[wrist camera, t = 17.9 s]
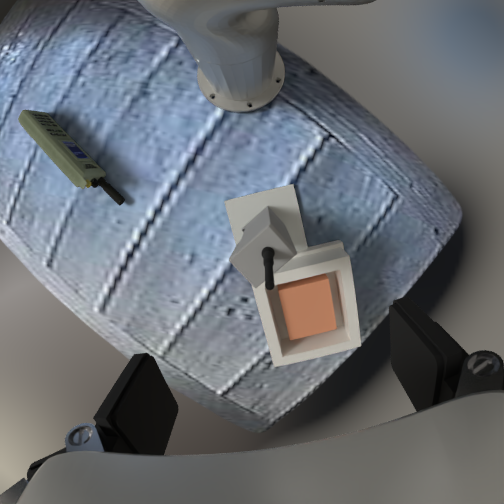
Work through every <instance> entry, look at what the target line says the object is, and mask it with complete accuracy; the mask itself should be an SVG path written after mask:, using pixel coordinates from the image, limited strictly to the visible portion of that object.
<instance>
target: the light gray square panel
mask: <svg viewBox="0 0 504 504" xmlns="http://www.w3.org/2000/svg"><path fill="white" fill-rule="evenodd" d="M224 202H225V206H226V210H227V213H228V217H229V221H230V224H231V228H232V232H233V235H234V239H235V243H236V245H237V244H238V243H239V241H240V240H241V239H242V236H243V233H244V232H243V231H242V230H241V229H242V228H243V227H244V226H245V225H246V224H247V223H248V222H250V221H251V220H252V219H253V218H254V217H255V216H256V215H257V214H259V213H260V212H261V211H262V210H263V209H264V208H265V207H267V206H269V207H270V208H271V210H272V211H273V212H274V213H275V214H276V215H277V216H278V217H279V219H280V220H281V221H282V222H283V223H284V224H285V226H286V228H287V230H288V233H289V235H290V237H291V240H292V242H293V244H294V246H295V249H296V251H299V250H303V249H307V248H308V246H307V242H306V237H305V233H304V228H303V224H302V219H301V215H300V211H299V206H298V202H297V198H296V194H295V189H294V185H293V184H291V185H287V186H283V187H279V188H274V189H270V190H266V191H262V192H258V193H254V194H250V195H246V196H242V197H238V198H234V199H231V200H227V201H224Z"/></svg>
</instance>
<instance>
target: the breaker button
mask: <svg viewBox="0 0 504 504" xmlns="http://www.w3.org/2000/svg"><path fill="white" fill-rule="evenodd" d="M277 286H278V293H279V297H280V301H281V305H282V309H283V313H284V317H285V322H286V326H287V330H288V334H289V338H290V340H294V339H298V338H303V337H307V336H311V335H315V334H319V333H323V332H327V331H331V330H335V329H337V326H336V320H335V313H334V307H333V301H332V295H331V289H330V284H329V279H328V277H327V275H326V274H325V273H324V274H320V275H316V276H312V277H308V278H304V279H300V280H295V281H291V282H287V283H283V284H278V285H277Z"/></svg>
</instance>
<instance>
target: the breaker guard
mask: <svg viewBox="0 0 504 504" xmlns="http://www.w3.org/2000/svg"><path fill="white" fill-rule="evenodd" d="M324 273H325V274H326V275H327V277H328V279H329V284H330V289H331V295H332V301H333V307H334V313H335V320H336V326H337V329H335V330H331V331H327V332H323V333H319V334H315V335H311V336H307V337H303V338H298V339H294V340H290V338H289V334H288V330H287V326H286V322H285V317H284V313H283V309H282V305H281V301H280V297H279V293H278V286H277V285H278V284H283V283H287V282H291V281H295V280H300V279H304V278H308V277H312V276H316V275H320V274H324ZM274 284H275V287H274V288H273V289H272V290H267V289H266V288H265V281H264V282H263V283H262V284H261V285H260V286H258V287H257V288H255V287H254V286H253V285H252V288H253V291H254V295H255V299H256V302H257V306H258V310H259V313H260V317H261V320H262V324H263V328H264V331H265V335H266V338H267V342H268V346H269V349H270V353H271V356H272V360H273V364H274V367H277V366H282V365H287V364H291V363H296V362H301V361H305V360H309V359H314V358H318V357H322V356H326V355H330V354H334V353H338V352H341V351H345V350H349V349H353V348H356V347H360V346H361V339H360V329H359V320H358V312H357V304H356V296H355V289H354V282H353V275H352V268H351V262H350V256H349V255H348V254H347V253H346V252H345V251H344V247H343V242H342V241H340V240H336V241H332V242H328V243H324V244H319V245H315V246H311V247H308V248H307V249H303V250H299V251H297V255H295V256H294V257H293V258H292V259H291V260H290V261H288V262H287V263H286V264H285V265H284V266H282V267H281V268H280V269H279V270H278V271H276V272H275V273H274Z"/></svg>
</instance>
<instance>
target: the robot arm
mask: <svg viewBox="0 0 504 504" xmlns="http://www.w3.org/2000/svg"><path fill="white" fill-rule="evenodd" d="M138 1H139V2H140V3H141V5H142V6H143V7H144V8H145V9H146V10H148V11H149V12H150V13H151V14H152V15H154V16H155V17H156V18H158V19H159V20H161V21H162V22H164V23H165V24H167V25H169V26H170V27H172V28H173V29H174V30H175V31H176V32H177V34H178V35H179V36H180V38H181V39H182V41H183V42H184V44H185V45H186V47H187V48H188V50H189V52H190V53H191V55H192V56H193V58H194V60H195V61H196V63H197V64H198V71H197V79H198V84H199V87H200V90H201V91H202V93H203V95H204V96H205V97H206V98H207V100H208V101H210V102H211V103H212V104H213V105H215V106H217V107H219V108H220V109H223V110H226V111H230V112H249V111H254V110H257V109H259V108H262V107H263V106H265V105H267V104H268V103H270V102H271V101H272V100H273V99H274V98H275V97H276V96H277V94H278V93H279V92H280V90H281V88H282V86H283V82H284V78H285V67H284V63H283V60H282V58H281V56H280V54H279V53H278V52H277V50H276V49H277V39H278V28H279V15H278V11H277V7H291V6H312V5H363V4H368V3H371V2H374V1H376V0H138ZM276 81H279V83H277V82H276ZM213 96H215V98H214V99H212V97H213ZM249 105H252V107H249ZM389 315H390V333H391V334H390V336H391V364H392V368H393V370H394V372H395V374H396V375H397V377H398V379H399V381H400V382H401V384H402V386H403V388H404V390H405V391H406V393H407V395H408V397H409V398H410V400H411V402H412V404H413V406H414V407H415V409H416V411H417V412H415V413H412V414H409V415H406V416H403V417H401V418H397V419H395V420H392V421H388V422H385V423H382V424H379V425H376V426H372V427H369V428H366V429H362V430H358V431H355V432H351V433H347V434H343V435H339V436H335V437H331V438H326V439H322V440H317V441H312V442H307V443H302V444H296V445H291V446H285V447H279V448H272V449H264V450H256V451H247V452H237V453H226V454H225V453H224V454H207V455H164V453H165V450H166V447H167V444H168V441H169V438H170V435H171V431H172V429H173V425H174V422H175V419H176V416H177V413H178V405H177V402H176V400H175V398H174V397H173V395H172V393H171V391H170V389H169V387H168V385H167V383H166V381H165V379H164V377H163V375H162V373H161V371H160V369H159V367H158V365H157V363H156V361H155V359H154V357H153V356H150V355H149V354H148V353H142V354H134V355H133V357H132V358H131V360H130V361H129V363H128V364H127V366H126V367H125V369H124V370H123V372H122V373H121V375H120V377H119V378H118V380H117V381H116V383H115V384H114V386H113V387H112V389H111V391H110V392H109V394H108V395H107V397H106V399H105V400H104V402H103V403H102V405H101V406H100V408H99V410H98V411H97V413H96V414H95V416H94V418H93V419H94V420H95V421H96V425H95V426H94V425H92V424H89V423H83V424H80V425H77V426H75V427H74V428H72V429H71V430H70V431H69V432H68V433H67V435H66V438H65V445H66V447H65V448H64V449H62V450H59V451H57V452H55V453H53V454H51V455H49V456H47V457H45V458H43V459H40V460H38V461H36V462H34V463H32V464H31V465H30V468H29V469H28V472H27V478H28V479H27V480H26V479H25V478H22V479H21V480H20V481H19V482H17V483H16V484H14V485H13V486H12V487H10V488H9V489H8V490H6V491H5V492H4V493H2V494H1V495H0V504H504V363H503V360H502V358H501V357H500V356H499V355H498V354H497V353H495V352H492V351H487V350H481V351H476V352H473V353H472V354H470V355H468V353H466V351H465V350H464V349H463V348H462V347H461V346H460V345H459V344H458V343H457V342H456V341H455V340H454V339H453V338H452V337H451V336H450V335H449V334H448V333H447V332H446V331H445V330H444V329H443V328H442V327H441V326H440V325H439V324H438V323H437V322H434V321H433V320H432V319H431V318H430V317H429V316H428V315H427V314H426V313H425V312H424V311H423V310H422V309H420V307H418V306H417V305H416V304H415V303H414V302H413V301H412V300H411V299H410V298H409V297H403V298H400V299H397V300H394V301H393V305H390V306H389Z"/></svg>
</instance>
